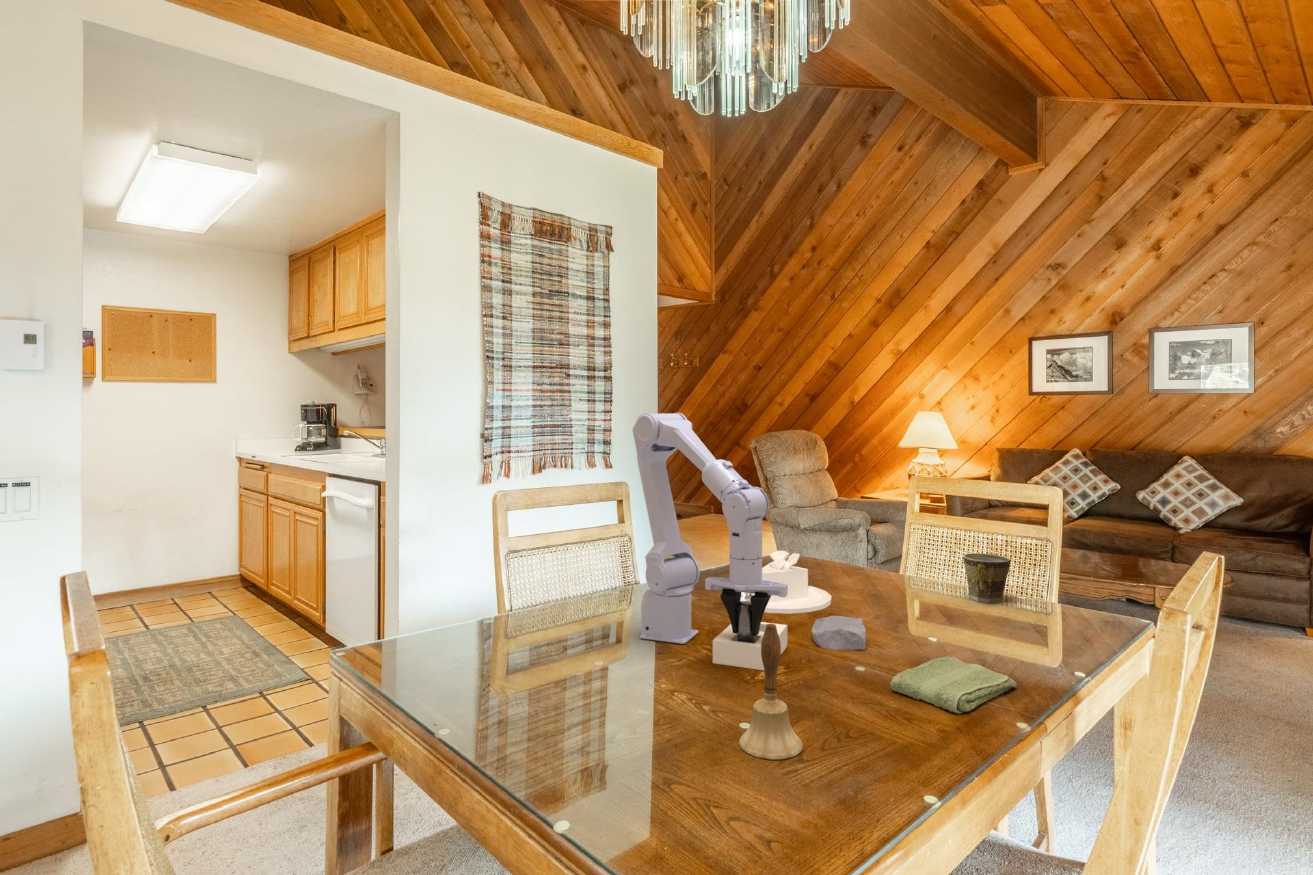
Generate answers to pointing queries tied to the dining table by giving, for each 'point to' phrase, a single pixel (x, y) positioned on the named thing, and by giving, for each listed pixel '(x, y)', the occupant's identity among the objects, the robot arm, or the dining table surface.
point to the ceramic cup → (986, 576)
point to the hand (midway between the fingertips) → (745, 633)
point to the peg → (744, 622)
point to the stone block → (839, 633)
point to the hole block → (744, 648)
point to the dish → (791, 587)
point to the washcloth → (951, 684)
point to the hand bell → (770, 711)
